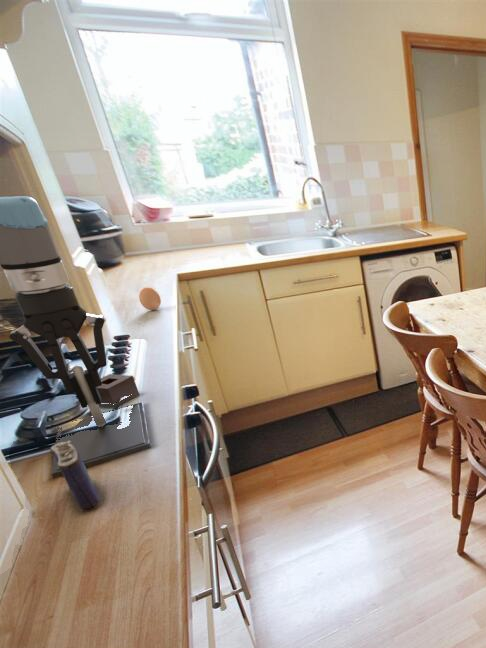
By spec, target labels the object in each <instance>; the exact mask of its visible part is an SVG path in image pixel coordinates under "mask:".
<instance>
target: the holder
mask: <svg viewBox="0 0 486 648" xmlns="http://www.w3.org/2000/svg"><path fill="white" fill-rule="evenodd" d="M101 380H102V385H101V386H98V387H97V389H98V391H99V394H100V396H101V403H109V404H98V405H99V407H100V408H108V409H118V408H120V407H121V406H122V405H124V404H126V403H128V402H129V401H131V400H133V399H135V398H137V397H138V396H140V391H139V389H138V386H137V384H136V381H135V379H134V376H133V375H125V374H115V373H114V374H113V373H109V374H107V375H105V376H103V377H101ZM131 394H132V395H131ZM129 395H130V396H129ZM124 396H129V397H127V398H125V399H123V400H121V401H120V402H118V403H116V402H117V401H118V400H119V399H120V398H121V397H124ZM110 403H111V404H110ZM114 403H116V404H114ZM113 404H114V405H113Z"/></svg>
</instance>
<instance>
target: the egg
mask: <svg viewBox="0 0 486 648" xmlns="http://www.w3.org/2000/svg"><path fill="white" fill-rule="evenodd" d="M138 297H139V298H138V299H139V302H140V304H141V306H142V307H143V308H144V309H146V310H148V311H156V310H158V309H159V307H160V306H161V303H162V300H161V296H160V294H159V293H158V291H157V290H155V289H154V288H152V287H150V286H145V287H143V288H142V289H141V290H140V291H139V294H138Z"/></svg>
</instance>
